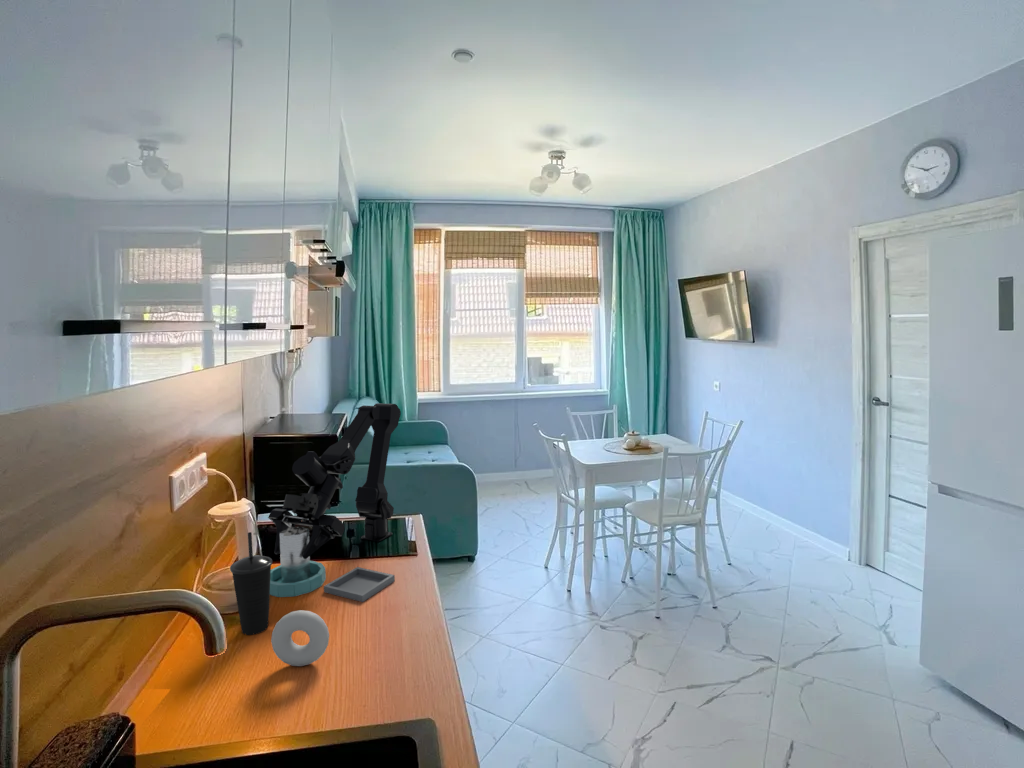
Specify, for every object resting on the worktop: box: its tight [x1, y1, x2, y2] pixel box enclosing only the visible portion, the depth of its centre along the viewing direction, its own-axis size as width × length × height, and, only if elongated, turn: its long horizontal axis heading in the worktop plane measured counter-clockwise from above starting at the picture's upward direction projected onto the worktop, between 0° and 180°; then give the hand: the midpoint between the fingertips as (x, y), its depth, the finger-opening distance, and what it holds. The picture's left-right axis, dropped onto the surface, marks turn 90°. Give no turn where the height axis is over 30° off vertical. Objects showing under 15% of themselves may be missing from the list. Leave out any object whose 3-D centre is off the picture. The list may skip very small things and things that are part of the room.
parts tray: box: [323, 566, 396, 603], centre depth 127 cm, size 11×11×2 cm
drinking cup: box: [229, 532, 273, 636], centre depth 110 cm, size 8×8×20 cm
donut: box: [270, 609, 330, 667], centre depth 98 cm, size 10×4×10 cm, turn 94°
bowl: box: [270, 560, 327, 598], centre depth 129 cm, size 13×13×4 cm
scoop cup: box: [279, 525, 311, 583], centre depth 129 cm, size 6×6×13 cm
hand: (289, 555), depth 127 cm, fingers open, 8 cm apart
